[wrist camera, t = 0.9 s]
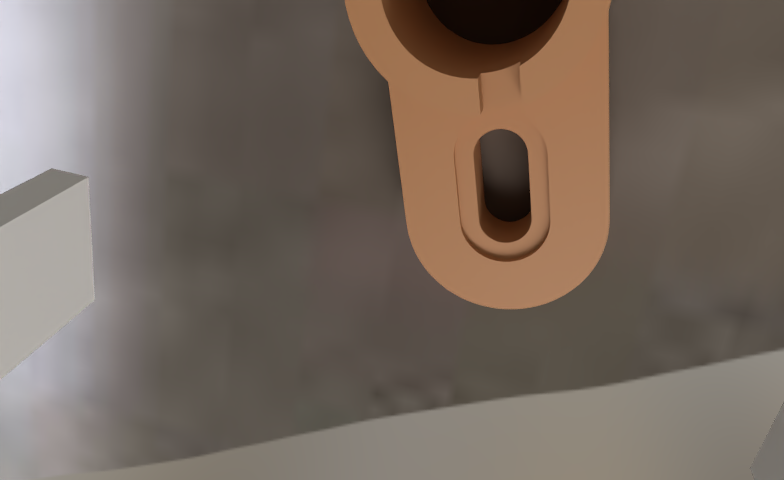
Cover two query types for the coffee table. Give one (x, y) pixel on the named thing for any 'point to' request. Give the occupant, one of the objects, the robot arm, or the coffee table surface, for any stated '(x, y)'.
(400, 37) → the bracket
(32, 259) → the robot arm
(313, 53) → the coffee table surface
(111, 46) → the coffee table surface
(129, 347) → the coffee table surface
